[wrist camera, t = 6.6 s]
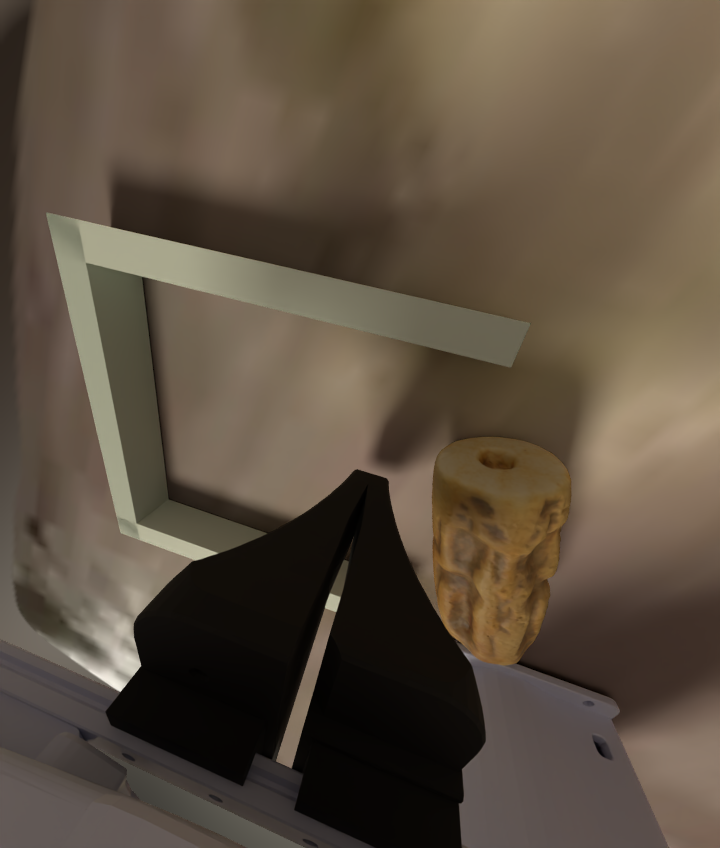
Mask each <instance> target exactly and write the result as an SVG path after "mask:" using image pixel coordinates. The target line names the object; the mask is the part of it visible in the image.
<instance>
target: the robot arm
mask: <svg viewBox="0 0 720 848" xmlns="http://www.w3.org/2000/svg"><path fill="white" fill-rule="evenodd" d="M353 537H354V538H353ZM352 539H353V543H352V548H351V553H350V558H349V563H348V568H347V573H346V578H345V583H344V588H343V592H342V595H341V598H340V602H339V605H338V608H337V612H336V615H335V618H334V622H333V625H332V628H331V632H330V635H329V639H328V642H327V646H326V649H325V653H324V657H323V660H322V664H321V667H320V671H319V674H318V678H317V681H316V685H315V689H314V692H313V696H312V699H311V702H310V706H309V709H308V713H307V716H306V719H305V723H304V726H303V730H302V733H301V737H300V741H299V744H298V748H297V752H296V755H295V759H294V762H293V766H292V769H291V768H289V767H287V766H285V765H282V764H280V763H278V762H276V759H277V756H278V752H279V749H280V746H281V743H282V740H283V737H284V734H285V730H286V727H287V724H288V721H289V718H290V715H291V711H292V708H293V705H294V702H295V699H296V696H297V693H298V690H299V686H300V683H301V680H302V677H303V674H304V671H305V668H306V665H307V661H308V658H309V655H310V652H311V649H312V646H313V643H314V640H315V637H316V634H317V630H318V627H319V624H320V621H321V618H322V615H323V612H324V609H325V606H326V603H327V600H328V597H329V594H330V592H331V589H332V587H333V584H334V582H335V580H336V577H337V575H338V572H339V570H340V568H341V565H342V563H343V561H344V558H345V556H346V554H347V551H348V549H349V546H350V544H351V542H352ZM134 638H135V642H136V646H137V650H138V654H139V658H140V662H141V667H140V668H139V670H138V671H137V672H136V673H135V675H134V676H133V677H132V678H131V680H130V681H129V682H128V683H127V685H126V686H125V687H124V689H123V690H122V691H121V692H118V691H116V690H114V689H111V688H109V687H107V686H105V685H102V684H100V683H98V682H96V681H93V680H91V679H89V678H86V677H84V676H82V675H80V674H77V673H75V672H73V671H71V670H68V669H66V668H64V667H62V666H60V665H58V664H55V663H53V662H51V661H48V660H46V659H44V658H42V657H40V656H37V655H35V654H33V653H31V652H28V651H26V650H24V649H22V648H19V647H17V646H15V645H13V644H10V643H8V642H6V641H3V640H1V639H0V848H246V847H244V846H242V845H240V844H238V843H236V842H234V841H232V840H230V839H228V838H226V837H224V836H222V835H219V834H217V833H215V832H213V831H211V830H208V829H206V828H204V827H202V826H200V825H197V824H195V823H193V822H190V821H188V820H186V819H183V818H182V817H179V816H177V815H175V814H172V813H170V812H167V811H165V810H163V809H160V808H158V807H155V806H153V805H150V804H148V803H145V802H143V801H141V800H140V799H139V798H138V797H137V796H136V794H135V793H134V792H133V791H132V790H131V788H130V786H129V784H128V782H127V780H126V775H127V770H126V768H124V767H123V766H121V765H120V764H118V763H117V762H115V761H114V760H112V759H111V758H110V757H108V756H107V755H105V754H104V753H102V752H101V751H99V750H102V751H104V752H106V753H108V754H110V755H112V756H114V757H116V758H118V759H121V760H122V761H125V762H127V763H129V764H131V765H133V766H135V767H137V768H139V769H142V770H143V771H146V772H148V773H150V774H152V775H154V776H156V777H158V778H160V779H162V780H165V781H167V782H169V783H171V784H173V785H175V786H177V787H179V788H181V789H183V790H185V791H188V792H190V793H192V794H194V795H196V796H198V797H200V798H202V799H204V800H207V801H209V802H211V803H213V804H215V805H217V806H219V807H221V808H223V809H225V810H227V811H230V812H232V813H234V814H236V815H238V816H240V817H242V818H244V819H246V820H248V821H251V822H253V823H255V824H257V825H259V826H261V827H263V828H265V829H267V830H269V831H272V832H274V833H276V834H278V835H280V836H282V837H284V838H286V839H288V840H291V841H293V842H295V843H297V844H299V845H301V846H303V847H305V848H669V847H668V844H667V842H666V840H665V838H664V835H663V833H662V831H661V829H660V827H659V824H658V822H657V820H656V818H655V815H654V813H653V811H652V809H651V806H650V804H649V802H648V800H647V797H646V795H645V793H644V791H643V789H642V786H641V784H640V782H639V780H638V777H637V775H636V773H635V771H634V768H633V766H632V764H631V762H630V760H629V757H628V755H627V753H626V751H625V748H624V746H623V744H622V742H621V739H620V737H619V735H618V733H617V730H616V728H615V726H614V724H613V722H612V720H611V719H613V718H614V717H615V716H617V715H618V714H619V712H620V710H619V707H618V705H617V703H616V702H615V701H614V700H613V699H612V698H610V697H607V696H604V695H601V694H599V693H596V692H593V691H590V690H588V689H585V688H582V687H579V686H576V685H574V684H571V683H568V682H565V681H563V680H560V679H557V678H554V677H552V676H549V675H546V674H543V673H540V672H538V671H535V670H532V669H529V668H527V667H524V666H521V665H518V664H516V663H515V664H511V665H506V666H504V665H498V664H491V663H486V662H483V661H481V660H479V659H477V658H476V657H475V656H474V655H473V654H472V653H471V652H470V651H469V650H468V649H467V648H466V647H465V646H464V645H463V644H460V643H457V642H455V640H454V639H453V638H452V636H451V635H450V633H449V632H448V630H447V629H446V627H445V626H444V624H443V622H442V621H441V619H440V617H439V616H438V614H437V613H436V611H435V609H434V608H433V606H432V604H431V602H430V600H429V598H428V597H427V595H426V593H425V591H424V589H423V587H422V586H421V584H420V582H419V580H418V578H417V576H416V574H415V572H414V570H413V567H412V565H411V563H410V561H409V558H408V556H407V554H406V551H405V549H404V546H403V543H402V541H401V538H400V535H399V532H398V529H397V525H396V522H395V518H394V514H393V510H392V506H391V501H390V495H389V481H388V480H387V478H384V477H380V476H377V475H374V474H371V473H367V472H364V471H361V470H358V469H357V470H355V471H353V472H352V474H351V475H350V476H349V477H348V478H347V479H346V480H345V481H344V482H343V483H342V484H341V485H340V486H339V487H338V488H337V489H335V490H334V491H333V492H332V493H331V494H330V495H328V496H327V497H326V498H325V499H323V500H322V501H321V502H319V503H318V504H317V505H315V506H314V507H312V508H311V509H310V510H308V511H307V512H305V513H304V514H302V515H300V516H299V517H297V518H295V519H294V520H292V521H290V522H289V523H287V524H285V525H283V526H281V527H279V528H278V529H276V530H274V531H272V532H270V533H268V534H265V535H263V536H261V537H259V538H256V539H254V540H252V541H249V542H247V543H245V544H242V545H240V546H238V547H235V548H232V549H230V550H227V551H224V552H221V553H218V554H215V555H212V556H209V557H206V558H203V559H199V560H196V561H193V562H191V563H190V564H189V565H188V566H187V567H186V568H185V569H183V570H182V571H181V572H180V573H179V574H178V575H176V576H175V577H174V578H173V579H172V580H171V581H170V582H169V583H168V584H167V585H166V586H165V587H164V588H163V589H162V590H161V592H160V593H159V594H158V595H157V596H156V597H155V598H154V599H153V600H152V601H151V602H150V603H149V604H148V606H147V607H146V608H145V609H144V610H143V611H142V612H141V613H140V614H139V615H138V616H137V618H136V620H135V622H134ZM96 748H97V749H96ZM98 749H99V750H98Z"/></svg>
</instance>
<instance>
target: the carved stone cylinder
mask: <svg viewBox="0 0 720 848" xmlns="http://www.w3.org/2000/svg"><path fill="white" fill-rule="evenodd" d="M432 485H433V490H432V506H433V508H432V513H433V514H432V519H433V533H434V537H433V568H434V581H435V588H436V594H437V598H438V607H439V611H440V614H441V618H442V622H443V624H444V626H445V627H446V629H447V630H448V632H449V633H450V634H451V635H452V636H453V637H454V638H455V639H457V640H458V641H460V642H461V643H462V644H463V645H464V646H465V647H466V648H467V649H468V650H469V651H470V652H471V653H472V654H473V655H474V656H475V657H476V658H477V659H479V660H481V661H483V662H486V663H491V664H498V665H504V666H506V665H511V664H515V663H517V662H518V661H519V660H520V658H521V657H522V655H523V654H524V652H525V651H526V649H527V648H528V647H529V646H530V645H531V644H533V642H534V641H535V638H536V636H537V635H538V633H539V631H540V627H541V625H542V622H543V619H544V617H545V613H546V609H547V607H548V600H549V597H550V586H549V583H548V581H547V578H550V577H552V576H553V575H554V574H555V572H556V570H557V566H558V561H559V553H560V546H559V545H560V541H561V537H560V532H561V527H562V525H563V524H564V523H565V522H566V520H567V518H568V514H569V506H570V502H571V478H570V475H569V473H568V470H567V469H566V467H565V466H564V465H563V463H562V462H561V461H560V460H559V459H558V458H557V457H556V456H555V455H553V454H552V453H551V452H548V451H546V450H545V449H543V448H541V447H539V446H537V445H534V444H532V443H529V442H525V441H521V440H517V439H512V438H502V437H476V438H469V439H464V440H459V441H456V442H454V443H451V444H450V445H448V446H447V447H445V448H444V449H442V450H441V451H440V453H439V454H438V456H437V458H436V461H435V466H434V474H433V483H432Z"/></svg>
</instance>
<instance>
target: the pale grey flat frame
mask: <svg viewBox="0 0 720 848" xmlns="http://www.w3.org/2000/svg"><path fill="white" fill-rule="evenodd" d="M46 215H47V219H48V224H49V228H50V232H51V237H52V241H53V245H54V249H55V254H56V258H57V262H58V267H59V271H60V275H61V279H62V284H63V288H64V292H65V297H66V301H67V305H68V310H69V314H70V318H71V322H72V327H73V331H74V335H75V340H76V344H77V348H78V352H79V357H80V361H81V365H82V370H83V374H84V378H85V382H86V387H87V391H88V395H89V400H90V404H91V408H92V413H93V417H94V421H95V425H96V430H97V434H98V438H99V443H100V447H101V451H102V455H103V460H104V464H105V468H106V473H107V477H108V481H109V485H110V490H111V494H112V498H113V503H114V507H115V511H116V516H117V520H118V524H119V528H120V533H122V534H125V535H128V536H130V537H133V538H136V539H139V540H141V541H144V542H147V543H150V544H152V545H155V546H158V547H160V548H163V549H166V550H169V551H171V552H174V553H177V554H180V555H182V556H185V557H188V558H190V559H193V560H199V559H203V558H206V557H209V556H212V555H215V554H218V553H221V552H224V551H227V550H230V549H232V548H235V547H238V546H240V545H242V544H245V543H247V542H249V541H252V540H254V539H256V538H259V537H261V536H263V535H265V534H268V533H265V532H262V531H259V530H256V529H253V528H250V527H247V526H245V525H242V524H239V523H236V522H233V521H230V520H227V519H224V518H221V517H218V516H215V515H213V514H210V513H207V512H204V511H201V510H198V509H195V508H192V507H189V506H186V505H183V504H181V503H178V502H175V501H172V500H169V498H168V490H167V481H166V473H165V465H164V457H163V448H162V440H161V432H160V423H159V415H158V407H157V398H156V390H155V382H154V373H153V365H152V357H151V348H150V340H149V332H148V324H147V315H146V307H145V299H144V290H143V282H142V277H146V278H150V279H154V280H158V281H162V282H166V283H170V284H174V285H178V286H183V287H187V288H191V289H195V290H199V291H203V292H207V293H211V294H215V295H219V296H223V297H227V298H231V299H235V300H239V301H243V302H247V303H251V304H255V305H259V306H263V307H267V308H271V309H276V310H280V311H284V312H288V313H292V314H296V315H300V316H304V317H308V318H312V319H316V320H320V321H324V322H328V323H332V324H336V325H340V326H344V327H348V328H352V329H356V330H360V331H364V332H369V333H373V334H377V335H381V336H385V337H389V338H393V339H397V340H401V341H405V342H409V343H413V344H417V345H421V346H425V347H429V348H433V349H437V350H441V351H445V352H449V353H453V354H458V355H462V356H466V357H470V358H474V359H478V360H482V361H486V362H490V363H494V364H498V365H502V366H506V367H510V368H511V367H512V364H513V362H514V360H515V358H516V356H517V353H518V351H519V349H520V347H521V344H522V342H523V340H524V338H525V336H526V333H527V331H528V329H529V327H530V324H531V323H528V322H524V321H519V320H515V319H511V318H506V317H502V316H497V315H493V314H489V313H484V312H480V311H476V310H471V309H467V308H462V307H458V306H454V305H449V304H445V303H440V302H436V301H432V300H427V299H423V298H419V297H414V296H410V295H405V294H401V293H397V292H392V291H388V290H384V289H379V288H375V287H370V286H366V285H362V284H357V283H353V282H348V281H344V280H340V279H335V278H331V277H327V276H322V275H318V274H313V273H309V272H305V271H300V270H296V269H292V268H287V267H283V266H278V265H274V264H270V263H265V262H261V261H256V260H252V259H248V258H243V257H239V256H235V255H230V254H226V253H221V252H217V251H213V250H208V249H204V248H199V247H195V246H191V245H186V244H182V243H178V242H173V241H169V240H164V239H160V238H156V237H151V236H147V235H143V234H138V233H134V232H129V231H125V230H121V229H116V228H112V227H107V226H103V225H99V224H94V223H90V222H86V221H81V220H77V219H72V218H68V217H64V216H59V215H55V214H51V213H46ZM348 563H349V561H346V560H344V561H343V563H342V565H341V568H340V570H339V572H338V575H337V577H336V580H335V582H334V584H333V587H332V589H331V592H330V594H329V597H328V600H327V603H326V606H325V608H327V609H329V610H332V611H335V612H337V608H338V605H339V602H340V598H341V595H342V592H343V588H344V583H345V578H346V573H347V568H348Z"/></svg>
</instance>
